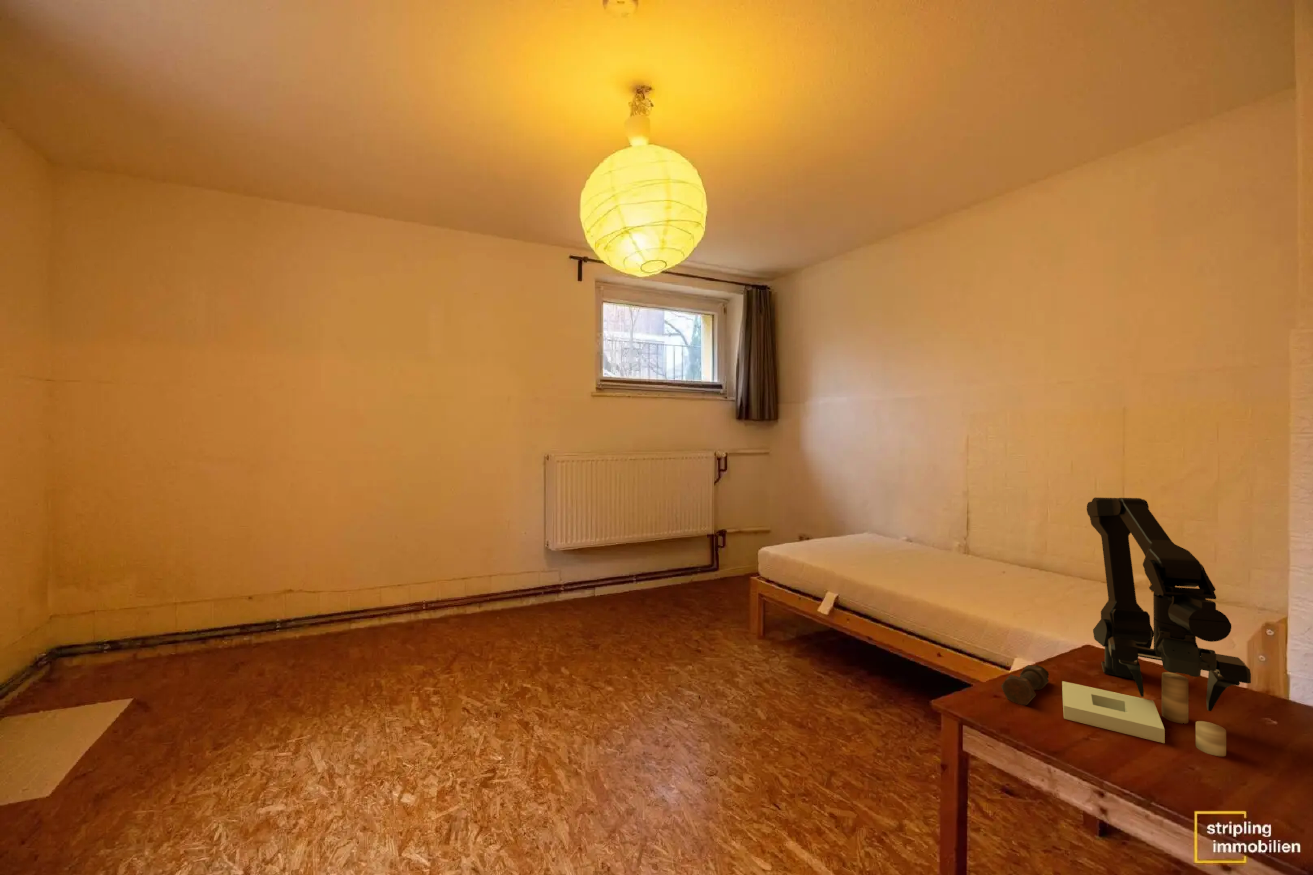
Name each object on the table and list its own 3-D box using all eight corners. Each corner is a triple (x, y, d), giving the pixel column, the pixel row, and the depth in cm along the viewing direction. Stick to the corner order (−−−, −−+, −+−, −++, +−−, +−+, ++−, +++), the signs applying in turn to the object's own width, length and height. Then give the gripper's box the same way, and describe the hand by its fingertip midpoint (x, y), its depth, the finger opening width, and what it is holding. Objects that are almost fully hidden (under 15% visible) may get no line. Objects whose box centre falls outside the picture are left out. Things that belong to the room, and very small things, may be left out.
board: (1062, 692, 110) (1062, 680, 110) (1153, 713, 102) (1153, 700, 102) (1063, 718, 101) (1063, 705, 101) (1164, 743, 92) (1164, 729, 92)
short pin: (1193, 741, 93) (1193, 718, 93) (1223, 748, 91) (1222, 725, 91) (1198, 751, 90) (1198, 728, 90) (1228, 758, 88) (1228, 735, 88)
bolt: (1044, 690, 115) (1020, 711, 106) (1021, 672, 119) (996, 690, 109) (1061, 672, 113) (1038, 691, 104) (1036, 653, 116) (1012, 671, 107)
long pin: (1160, 711, 103) (1160, 670, 102) (1186, 716, 100) (1186, 675, 100) (1163, 719, 100) (1163, 677, 100) (1190, 725, 98) (1190, 682, 97)
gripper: (1113, 624, 99) (1114, 706, 99) (1261, 646, 88) (1261, 739, 88) (1108, 607, 108) (1108, 683, 108) (1241, 626, 97) (1241, 710, 97)
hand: (1174, 702), depth 100 cm, fingers open, 9 cm apart
